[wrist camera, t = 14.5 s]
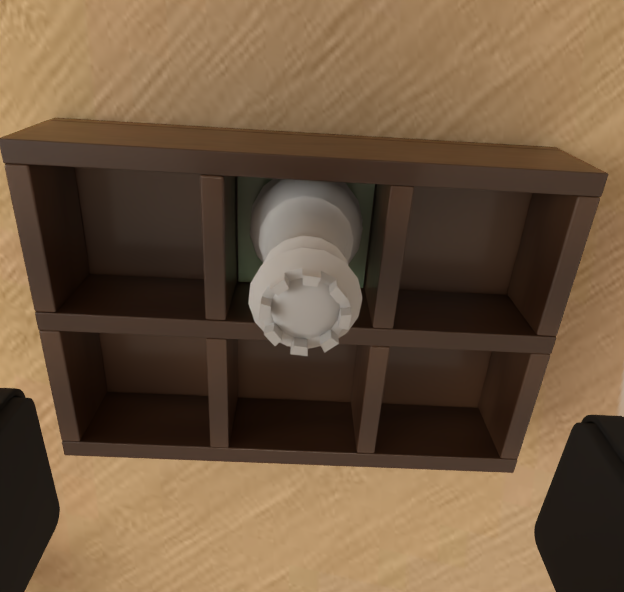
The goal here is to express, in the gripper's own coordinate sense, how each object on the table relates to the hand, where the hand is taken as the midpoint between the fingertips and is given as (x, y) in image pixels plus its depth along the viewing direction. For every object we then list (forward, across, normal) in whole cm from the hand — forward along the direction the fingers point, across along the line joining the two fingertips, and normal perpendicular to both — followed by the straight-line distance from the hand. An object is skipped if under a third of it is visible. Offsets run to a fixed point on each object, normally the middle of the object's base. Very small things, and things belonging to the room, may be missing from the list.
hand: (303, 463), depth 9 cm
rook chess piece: (+14, 0, 0) cm, 14 cm away
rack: (+14, 0, +4) cm, 15 cm away
